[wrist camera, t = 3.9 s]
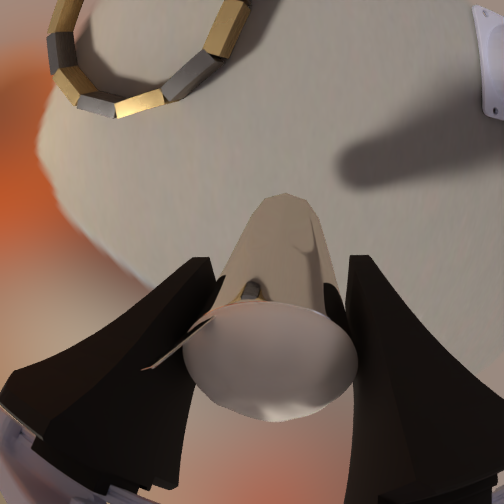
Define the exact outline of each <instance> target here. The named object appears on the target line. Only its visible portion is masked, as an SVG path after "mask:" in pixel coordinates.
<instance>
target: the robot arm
mask: <svg viewBox="0 0 504 504" xmlns="http://www.w3.org/2000/svg"><path fill="white" fill-rule="evenodd" d="M472 12H473V17H474V22H475V27H476V33H477V39H478V46H479V54H480V64H481V76H482V108H483V112H484V114H485V115H486V116H489V117H492V118H496V119H500V120H503V121H504V16H501V15H499V14H497V13H495V12H493V11H491V10H489V9H486V8H484V7H482V6H479V5H474V6H472ZM483 12H484V13H485V15H486V16H485V15H484V14H483ZM493 108H495V113H493ZM215 283H216V280H215V276H214V272H213V269H212V265H211V261H210V258H209V257H193V258H191V259H190V260H188V261H187V262H186V263H185V264H183V265H182V266H181V267H180V268H179V269H177V270H176V271H175V272H174V273H173V274H171V275H170V276H169V277H168V278H167V279H166V280H164V281H163V282H162V283H161V284H160V285H158V286H157V287H156V288H155V289H154V290H153V291H151V292H150V293H149V294H148V295H147V296H145V297H144V298H143V299H141V300H140V301H139V302H138V303H136V304H135V305H134V306H133V307H132V308H130V309H129V310H128V311H127V312H125V313H124V314H122V315H121V316H120V317H118V318H117V319H116V320H114V321H113V322H111V323H110V324H108V325H107V326H105V327H104V328H102V329H101V330H99V331H98V332H96V333H95V334H93V335H91V336H90V337H88V338H86V339H84V340H83V341H81V342H79V343H77V344H76V345H74V346H72V347H70V348H68V349H66V350H65V351H62V352H60V353H58V354H56V355H54V356H52V357H50V358H47V359H45V360H43V361H41V362H38V363H35V364H32V365H30V366H27V367H24V368H21V369H18V370H15V371H13V373H12V374H11V375H10V377H9V378H8V380H7V382H6V383H5V385H4V387H3V388H2V390H1V392H0V405H1V406H2V407H3V408H4V409H5V410H6V411H7V412H9V413H10V414H11V415H12V416H13V417H14V418H15V419H16V420H18V421H19V422H20V423H21V424H23V425H21V424H20V423H19V422H17V421H16V420H15V419H14V418H12V417H11V416H10V415H9V414H8V413H7V412H5V411H4V410H3V409H2V408H1V407H0V491H1V493H2V495H3V496H4V498H5V500H6V502H7V504H106V502H108V503H110V504H159V503H156V502H154V501H151V500H149V499H146V498H144V497H141V496H139V495H137V492H138V489H139V488H142V489H144V490H147V491H150V489H151V486H152V484H153V485H155V486H158V487H161V488H164V489H167V490H172V489H174V488H176V487H177V486H178V483H179V471H180V461H181V453H182V446H183V440H184V434H185V429H186V423H187V418H188V413H189V409H190V405H191V400H192V396H193V391H194V388H195V385H196V383H195V382H194V380H193V379H192V377H191V376H190V374H189V372H188V370H187V367H186V365H185V362H184V357H183V345H182V346H181V347H180V348H179V349H177V350H176V351H175V352H174V353H172V354H171V355H170V356H169V357H168V358H166V359H165V360H164V361H163V362H161V363H160V364H159V365H158V366H157V367H155V368H154V369H152V370H148V371H145V372H140V370H141V369H142V368H143V367H145V366H146V365H147V364H148V363H150V362H151V361H152V360H154V359H155V358H156V357H157V356H159V355H160V354H161V353H163V352H164V351H165V350H166V349H168V348H169V347H170V346H171V345H173V344H174V343H175V342H177V341H178V340H179V339H180V338H182V337H183V336H184V335H185V334H187V332H188V331H189V329H190V328H191V326H192V324H193V322H194V320H195V319H196V317H197V315H198V313H199V311H200V310H201V308H202V306H203V304H204V302H205V301H206V299H207V297H208V295H209V294H210V292H211V290H212V288H213V287H214V285H215ZM345 309H346V316H347V319H348V323H349V327H350V330H351V334H352V338H353V342H354V346H355V349H356V352H357V356H358V370H357V374H356V376H355V379H354V380H353V389H354V417H353V436H352V449H351V459H350V467H349V475H348V482H347V489H346V494H345V499H344V504H504V485H502V486H500V487H498V488H497V489H496V490H495V491H494V492H492V487H493V486H496V485H497V483H498V476H497V473H499V472H501V471H503V470H504V399H503V398H501V397H500V396H499V395H497V394H496V393H494V392H493V391H492V390H491V389H490V388H489V387H487V386H486V385H485V384H483V383H482V382H481V381H480V380H479V379H478V378H476V377H475V376H474V375H473V374H472V373H471V372H470V371H468V370H467V369H466V368H465V367H464V366H463V365H462V364H461V363H460V362H459V361H458V360H457V359H455V358H454V357H453V356H452V355H451V354H450V353H449V352H448V351H447V350H446V349H445V348H444V347H443V346H442V345H441V344H440V343H439V342H438V341H437V339H436V338H435V337H434V336H433V335H432V334H431V333H430V332H429V331H428V330H427V329H426V328H425V326H424V325H423V324H422V323H421V322H420V321H419V319H418V318H417V317H416V316H415V315H414V313H413V312H412V311H411V310H410V309H409V307H408V306H407V305H406V304H405V302H404V301H403V300H402V298H401V297H400V296H399V295H398V293H397V292H396V291H395V290H394V288H393V287H392V286H391V284H390V283H389V282H388V280H387V279H386V277H385V276H384V275H383V273H382V272H381V271H380V269H379V268H378V266H377V265H376V264H375V262H374V261H373V260H372V258H371V257H370V256H369V255H350V259H349V271H348V282H347V292H346V301H345Z"/></svg>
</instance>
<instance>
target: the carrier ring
mask: <svg viewBox="0 0 504 504" xmlns="http://www.w3.org/2000/svg"><path fill="white" fill-rule="evenodd" d="M83 1H84V0H58V1H57V4H56V6H55V9H54V12H53V15H52V19H51V22H50V25H49V28H48V32H47V33H51V34H50V35H49V36H48V37H47V48H48V57H49V65H50V72H51V75H54V74H55V75H54V76H53V80H54V81H55V83H56V84H57V85H58V87H59V88H60V89H61V91H62V92H63V93H64V94H65V96H66V97H67V98H68V100H69V101H70V102H71V103H72V105H73V106H77V109H81V110H85V111H88V112H92V113H96V114H99V115H102V116H106V117H109V118H113V119H114V118H121V117H124V116H127V115H130V114H134V113H137V112H140V111H143V110H147V109H150V108H154V107H157V106H161V105H165V104H169V103H173V102H177V101H179V99H184V98H185V97H186V96H187V95H188V94H189V93H190V92H191V91H192V90H194V89H195V88H196V87H197V86H198V85H199V84H200V83H202V82H203V81H204V80H205V79H206V78H208V77H209V76H210V75H211V74H212V73H214V72H215V71H216V70H217V69H219V68H220V67H221V66H222V65H224V64H225V62H224V61H223V60H222V59H221V58H220V57H219V56H221V57H224V58H228V59H229V57H230V55H231V52H232V50H233V48H234V46H235V43H236V41H237V39H238V37H239V35H240V32H241V30H242V28H243V26H244V24H245V22H246V20H247V18H248V16H249V13H250V11H251V10H250V9H249V8H248V6H251V0H224V2H223V4H222V6H221V8H220V10H219V12H218V15H217V17H216V19H215V21H214V23H213V26H212V28H211V30H210V32H209V35H208V37H207V39H206V42H205V44H204V46H203V49H202V50H201V51H200V52H199V53H198V54H197V55H195V56H194V57H193V58H192V59H191V60H190V61H189V62H187V63H186V64H185V65H184V66H183V67H182V68H181V69H180V70H179V71H178V72H176V73H175V74H174V75H173V76H172V77H171V78H170V79H169V80H168V81H167V82H166V83H165V84H164V85H163V86H162V87H161V88H160V89H157V90H154V91H150V92H147V93H144V94H141V95H138V96H135V97H132V98H126V97H122V96H118V95H114V94H110V93H106V92H102V91H98V90H97V89H96V87H95V86H94V85H93V84H92V83H91V82H90V80H89V79H88V78H87V77H86V76H85V74H84V73H83V72H82V71H81V70H80V68H79V67H78V66H77V59H76V52H75V44H74V35H73V30H74V27H75V24H76V21H77V18H78V15H79V12H80V9H81V7H82V4H83Z"/></svg>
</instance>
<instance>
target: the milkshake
mask: <svg viewBox="0 0 504 504" xmlns="http://www.w3.org/2000/svg"><path fill="white" fill-rule="evenodd" d="M182 345H183V357H184V362H185V365H186V367H187V370H188V372H189V374H190V376H191V377H192V379H193V380H194V382H195V383H196V384H197V386H198V387H199V388H200V389H201V390H202V391H203V392H204V393H205V394H206V395H207V396H208V397H209V398H210V399H211V400H212V401H213V402H214V403H216V404H217V405H220V406H222V407H225V408H228V409H230V410H232V411H234V412H237V413H239V414H242V415H244V416H247V417H250V418H254V419H258V420H263V421H270V422H282V421H287V420H291V419H295V418H300V417H304V416H308V415H311V414H314V413H316V412H318V411H320V410H322V409H323V408H324V407H326V406H327V405H328V404H329V403H331V402H332V401H334V400H335V399H337V398H338V397H339V396H341V395H342V394H343V393H344V391H346V390H347V388H348V387H349V386H350V385H351V383H352V382H353V380H354V379H355V376H356V374H357V370H358V356H357V352H356V349H355V346H354V342H353V338H352V334H351V330H350V327H349V323H348V319H347V316H346V312H345V309H344V305H343V302H342V298H341V295H340V291H339V288H338V284H337V281H336V277H335V273H334V269H333V265H332V261H331V258H330V254H329V251H328V247H327V244H326V240H325V237H324V233H323V230H322V227H321V224H320V220H319V218H318V216H317V214H316V213H315V212H314V210H313V209H312V207H311V206H310V204H309V203H308V201H307V200H305V199H302V198H299V197H296V196H293V195H291V194H288V193H283V194H279V195H276V196H272V197H268V198H265V199H264V200H263V201H262V202H261V204H260V205H259V206H258V207H257V209H256V210H255V211H254V212H253V214H252V215H251V217H250V219H249V221H248V223H247V225H246V227H245V229H244V230H243V232H242V234H241V236H240V238H239V240H238V242H237V244H236V246H235V248H234V250H233V252H232V254H231V256H230V258H229V260H228V261H227V263H226V265H225V267H224V269H223V271H222V273H221V275H220V276H219V278H218V280H217V281H216V283H215V285H214V287H213V288H212V290H211V292H210V294H209V295H208V297H207V299H206V301H205V302H204V304H203V306H202V308H201V310H200V311H199V313H198V315H197V317H196V319H195V320H194V322H193V324H192V326H191V328H190V329H189V331H188V332H187V334H185V335H184V336H183V337H182V338H180V339H179V340H178V341H177V342H175V343H174V344H173V345H171V346H170V347H169V348H168V349H166V350H165V351H164V352H163V353H161V354H160V355H159V356H157V357H156V358H155V359H154V360H152V361H151V362H150V363H148V364H147V365H146V366H145V367H143V368H142V369H141V370H140V372H145V371H148V370H152V369H154V368H155V367H157V366H158V365H159V364H160V363H161V362H163V361H164V360H165V359H166V358H168V357H169V356H170V355H171V354H172V353H174V352H175V351H176V350H177V349H179V348H180V347H181V346H182Z"/></svg>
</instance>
